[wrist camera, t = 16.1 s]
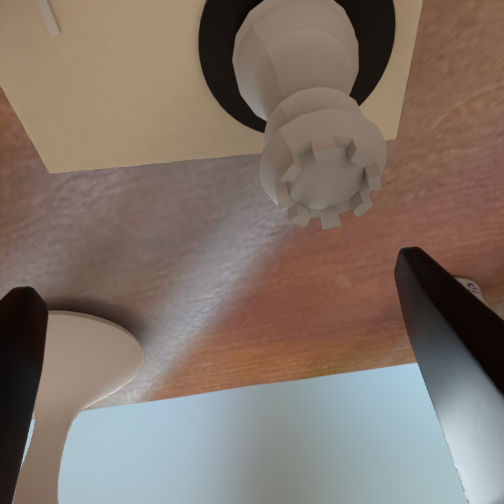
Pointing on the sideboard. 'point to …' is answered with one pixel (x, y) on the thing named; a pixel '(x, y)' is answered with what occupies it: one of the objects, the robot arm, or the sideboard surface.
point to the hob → (141, 82)
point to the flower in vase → (72, 391)
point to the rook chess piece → (308, 109)
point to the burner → (231, 19)
